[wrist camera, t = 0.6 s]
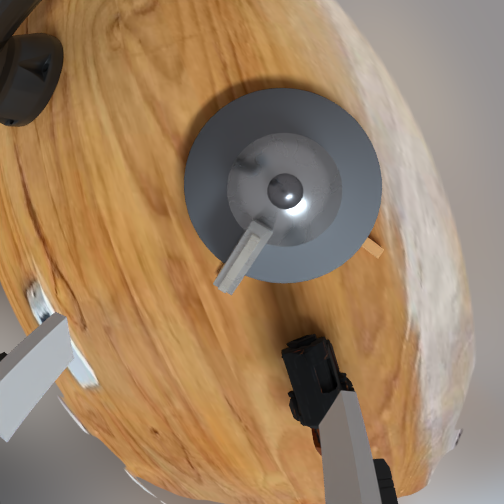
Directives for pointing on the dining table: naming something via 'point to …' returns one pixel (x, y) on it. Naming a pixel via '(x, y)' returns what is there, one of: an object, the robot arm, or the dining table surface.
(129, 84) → the dining table surface
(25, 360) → the robot arm
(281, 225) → the dial
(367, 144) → the dial plate
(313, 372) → the tool
